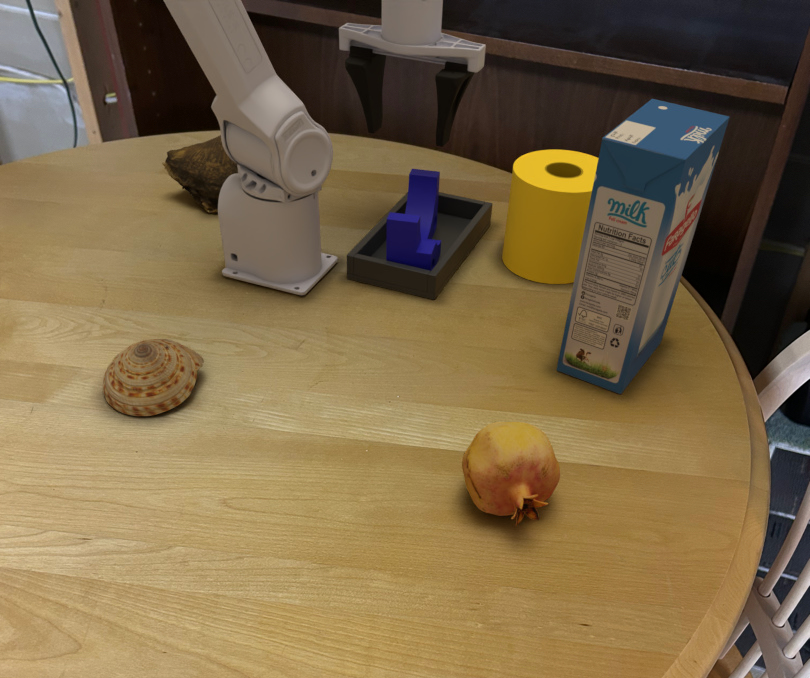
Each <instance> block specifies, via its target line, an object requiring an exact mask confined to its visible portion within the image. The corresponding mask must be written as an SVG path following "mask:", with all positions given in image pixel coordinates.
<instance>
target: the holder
mask: <svg viewBox="0 0 810 678" xmlns="http://www.w3.org/2000/svg"><path fill="white" fill-rule="evenodd" d="M407 197H408V191H407V192H406V193H405V194H404V195H403V196H402V197H401V198H400V199H399V200H398V201H397V202H396V203H395V204H394V205H393V206H392V207H391V208H390V210H388V212H387V213H386V214H385V215H384V216H383V217H382V218H381V219H380V220H379V221H377V223H376V224H375V225H374V226H373V227H372V228H371V229H370V230H369V231H368V232H367V234H366V235H364V236H363V238H361V239H360V240H359V242H357V243H356V245H354V247H353V248H351V250H350V251H349V252H348V253H347V254H346V279H347V280H350V281H351V280H352V281H355V282H358V283H363V284H367V285H372V286H376V287H379V288H383V289H388V290H391V291H396V292H399V293H404V294H407V295H408V294H409V295H412V296H417V297H419V298H424V299H428V300H433V301H435V300H436V298H437V297H438V295H439V294H440V293H441V292H442V290H443V289H444V288H445V287H446V286H447V283H448V282H449V281H450V280H451V278H452V277H453V275H455V273H456V272H457V270H458V269H459V268H460V266H461V265H462V264H463V263H464V261H465V259H466V258H467V257H468V256H469V255H470V253H471V252H472V251H473V250H474V248H475V246H476V245H477V244H478V242H479V241H480V240H481V238H482V237H483V236H484V234H486V232H487V231H488V229H489V228H490V226H491V222H492V213H493V202H491V201H489V202H488V201H485V200H478V199H476V198H470V197H465V196H460V195H456V194H450V193H446V192H440V191H439V196H438V214H437V227H436V230H435V232H434V235H433V237H432V239H433V240H441V252H440V256H439V259H438V262H437V264H436V266H435V267H434V268H433V269H432V271H429V270H425V269H421V268H417V267H412V266H408V265H404V264H399V263H395V262H391V261H387V260H386V243H387V218H388V216H389V214H390V212H393V213H401V214H405V211H406V205H407Z"/></svg>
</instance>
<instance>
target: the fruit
mask: <svg viewBox="0 0 810 678" xmlns="http://www.w3.org/2000/svg"><path fill="white" fill-rule="evenodd" d="M463 453H464V454H463V456H462V460H461V469H462V474H463V478H464V483H465V487H466V490H467V491H468V494H469V496H470V499H471V501H472V502H473V504H474V505H475V506H476V508H478V510H479V511H481V512H482V513H483V512H484V513H486V514H490V515H493V516H494V515H495V516H499V517H504V516H511V518H510V519H511V520H513V519H514V520H515V524H514V525H515V526H514V527H518V525H520V523H521V522H522V520H523V519H524V516H526V517H527V518H529V519H531V520H532V521H539V520H540V516H539V511H538V508H541V507H545V506H547V505H549V503H548V502H547V500H549V498H550V497H551V496H552V495H553V493H554V491H555V490H556V488H557V487H558V485H559V482H560V480H561V468H560V464H559V461H558V459H557V457H556V454H555V450H554V448H553V446H552V444H551V442H550V439H549V437H548V435H547V434H546V433H545V432H544V431H543V430H542V429H541V428H539V427H538V426H535V425H533V424H530V423H527V422H521V421H495V422H491V423H489V424H487V425H485V426H484V427H483V428H481V429H480V430H479V431H478V432H477V433H476V434H475V435H474V437H473V439H472V441H471V442H470V444H469V445H468V446H467V448H466V450H465V452H463Z"/></svg>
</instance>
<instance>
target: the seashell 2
mask: <svg viewBox="0 0 810 678" xmlns="http://www.w3.org/2000/svg"><path fill="white" fill-rule="evenodd" d="M166 155H167V157H166V158H165V161H164V162H162V163H161V164H162V166H163V167H164V169H165V170H166V172H167V174H168V176H169V177H170V178H171V179H172V180H173V181H175V182H176V183H177V184H178V185H180V186H181V187H182V188H181V189H182V190H185V191H187V193H189V195H190V196H191V197H192V199H193V200H194V201H195V202H196V203H197V205H198V206H199V207H201V208H203V209H204V210H205V211H206V212H208V214H212V213H218V200H219V194H220V191H221V188H222V186H223V184H224V182H225V181H226V179H227V178H228V177H229V176H230V175H232V174H236V173H238V167H237V163H235V162H234V161H232V160H231V159H230V158H229V156H228V155H227V154H226V152H225V150H224V147H223V145H222V141H221V134H220V135H218V136H216V137H213V138H211V139H208V140H206V141H202V142H199V143H195V144H191V145H188V146H183V147H181V148H177V149H170V150H168V151H167V152H166Z"/></svg>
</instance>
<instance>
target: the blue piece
mask: <svg viewBox="0 0 810 678" xmlns="http://www.w3.org/2000/svg"><path fill="white" fill-rule="evenodd" d="M440 178H441V171H438V170H437V171H436V170H429V169H419V168H411V169H410V172H409V174H408V186H407V187H408V188H407V192H408V197H407V205H406V211H405V214H401V213H393V212H390V214H389V216H388V218H387V243H386V260H387V261H391V262H395V263H399V264H404V265H408V266H412V267H417V268H421V269H425V270H429V271H432V269H433V268H434V267H435V266H436V264H437V262H438V259H439V256H440V252H441V240H433V239H432V237H433V235H434V232H435V230H436V227H437V214H438V196H439V192H440V180H441V179H440Z"/></svg>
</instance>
